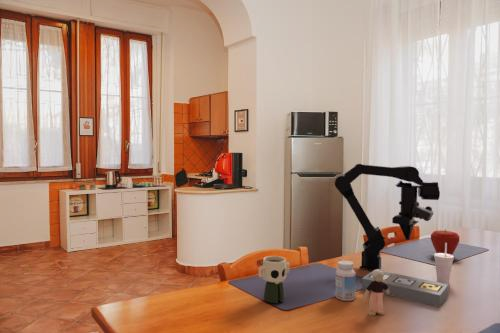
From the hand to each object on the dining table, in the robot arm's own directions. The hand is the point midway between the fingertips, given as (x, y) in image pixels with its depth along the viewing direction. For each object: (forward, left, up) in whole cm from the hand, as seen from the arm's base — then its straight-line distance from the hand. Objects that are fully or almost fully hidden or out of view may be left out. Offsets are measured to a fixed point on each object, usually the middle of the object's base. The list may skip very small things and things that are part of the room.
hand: (407, 239), depth 151 cm
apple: (+7, +31, -12) cm, 34 cm away
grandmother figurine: (+5, -46, -12) cm, 48 cm away
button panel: (+6, -24, -12) cm, 27 cm away
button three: (+14, -24, -11) cm, 30 cm away
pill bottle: (-7, -41, -12) cm, 43 cm away
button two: (+6, -24, -11) cm, 27 cm away
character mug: (-23, -57, -12) cm, 63 cm away
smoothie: (+14, -6, -12) cm, 19 cm away
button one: (-2, -24, -11) cm, 26 cm away
